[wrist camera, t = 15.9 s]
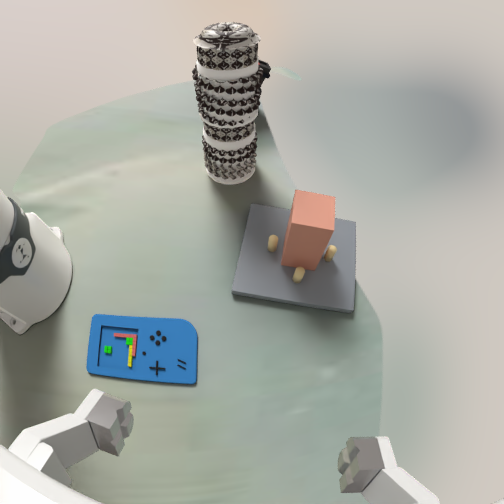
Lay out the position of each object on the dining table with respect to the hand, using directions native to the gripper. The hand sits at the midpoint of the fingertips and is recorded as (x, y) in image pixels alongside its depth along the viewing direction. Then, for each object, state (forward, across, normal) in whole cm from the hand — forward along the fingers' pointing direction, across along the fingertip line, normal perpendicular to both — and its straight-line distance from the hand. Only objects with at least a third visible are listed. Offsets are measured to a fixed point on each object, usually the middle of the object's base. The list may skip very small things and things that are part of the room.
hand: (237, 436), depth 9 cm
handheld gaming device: (+22, +14, +15) cm, 30 cm away
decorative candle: (+44, +8, -8) cm, 46 cm away
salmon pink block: (+33, -4, +2) cm, 33 cm away
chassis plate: (+34, -5, +3) cm, 34 cm away
